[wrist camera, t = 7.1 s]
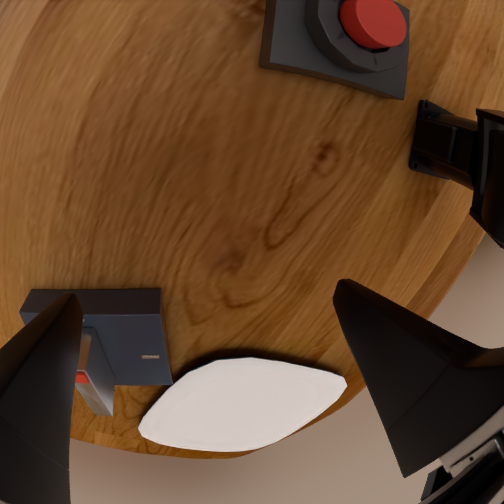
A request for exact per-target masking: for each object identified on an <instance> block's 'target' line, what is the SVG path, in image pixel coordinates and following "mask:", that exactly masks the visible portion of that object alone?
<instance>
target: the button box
mask: <svg viewBox="0 0 504 504" xmlns="http://www.w3.org/2000/svg"><path fill="white" fill-rule="evenodd" d="M344 1H345V0H267V4H266V12H265V20H264V29H263V37H262V45H261V54H260V63H259V67H261V68H268V69H274V70H280V71H286V72H291V73H297V74H301V75H306V76H311V77H315V78H319V79H323V80H327V81H331V82H335V83H339V84H342V85H346V86H349V87H353V88H356V89H359V90H362V91H365V92H369V93H372V94H374V95H377V96H380V97H383V98H387V99H396V100H404V95H405V86H406V76H407V65H408V50H409V10H408V9H407V8H405V7H403V6H402V5H400V4H398V3H396V2H395V1H393V0H392V1H393V2H394V3H395V4H396V5H397V6H398V8H399V9H400V11H401V12H402V14H403V16H404V19H405V23H406V36H405V39H404V40H403V42H402V43H401V44H399V45H397V46H394V47H386V48H378V49H370V48H366V47H363V46H361V45H359V44H358V43H356V42H355V41H354V40H352V39H351V38H350V37H349V35H348V34H347V33H346V31H345V30H344V28H343V26H342V24H341V21H340V8H341V5H342V4H343V2H344Z"/></svg>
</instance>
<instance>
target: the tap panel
mask: <svg viewBox="0 0 504 504" xmlns="http://www.w3.org/2000/svg"><path fill="white" fill-rule="evenodd" d="M63 293H75V294H76V295H77V297H78V300H79V303H80V306H81V309H82V312H83V324H82V328H94V329H95V331H96V334H97V337H98V339H99V342H100V344H101V347H102V349H103V352H104V354H105V357H106V359H107V361H108V364H109V366H110V368H111V370H112V373H113V375H114V377H115V385H172V384H173V381H172V365H171V356H170V350H169V344H168V338H167V331H166V324H165V317H164V310H163V302H162V293H161V289H160V288H156V289H113V290H31V291H30V293H29V294H28V296H27V298H26V300H25V302H24V304H23V305H22V307H21V309H20V311H19V313H20V315H21V317H22V319H23V322H24V324H25V326H26V325H27V324H28V323H29V322H30V321H31V320H32V319H34V318H35V317H36V316H37V315H38V314H39V313H40V312H42V311H43V310H44V309H45V308H46V307H48V306H49V305H50V304H51V303H52V302H54V301H55V300H56V299H57V298H58V297H60V296H61V295H62V294H63ZM114 391H115V389H114Z"/></svg>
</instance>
